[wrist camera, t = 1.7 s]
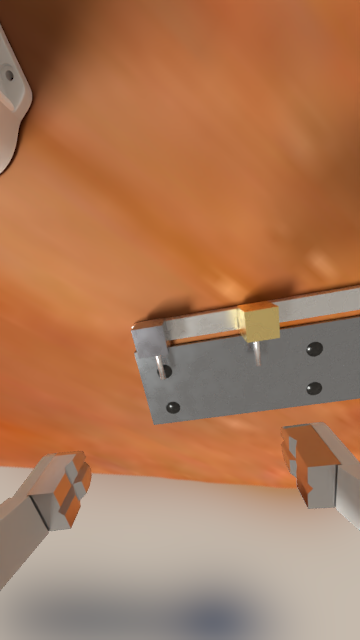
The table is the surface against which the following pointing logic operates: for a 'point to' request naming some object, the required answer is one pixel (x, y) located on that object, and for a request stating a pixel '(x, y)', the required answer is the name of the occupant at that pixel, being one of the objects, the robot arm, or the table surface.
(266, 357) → the flange plate
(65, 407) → the table surface
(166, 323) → the trammel beam
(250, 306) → the sliding head
